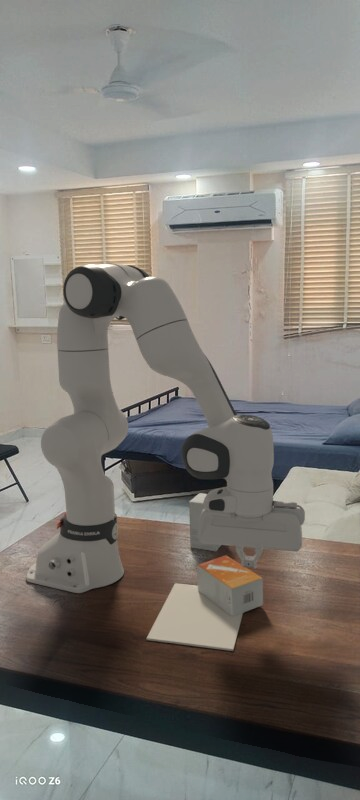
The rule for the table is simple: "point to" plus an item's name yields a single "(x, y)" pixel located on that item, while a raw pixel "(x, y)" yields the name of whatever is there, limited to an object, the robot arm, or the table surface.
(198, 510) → the supplement box
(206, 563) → the small box
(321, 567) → the table surface
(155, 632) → the mat
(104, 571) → the robot arm
